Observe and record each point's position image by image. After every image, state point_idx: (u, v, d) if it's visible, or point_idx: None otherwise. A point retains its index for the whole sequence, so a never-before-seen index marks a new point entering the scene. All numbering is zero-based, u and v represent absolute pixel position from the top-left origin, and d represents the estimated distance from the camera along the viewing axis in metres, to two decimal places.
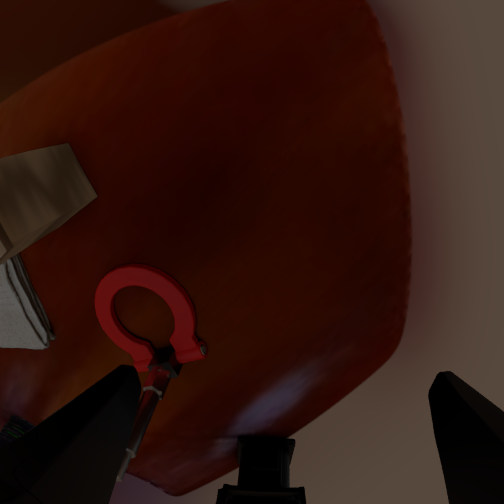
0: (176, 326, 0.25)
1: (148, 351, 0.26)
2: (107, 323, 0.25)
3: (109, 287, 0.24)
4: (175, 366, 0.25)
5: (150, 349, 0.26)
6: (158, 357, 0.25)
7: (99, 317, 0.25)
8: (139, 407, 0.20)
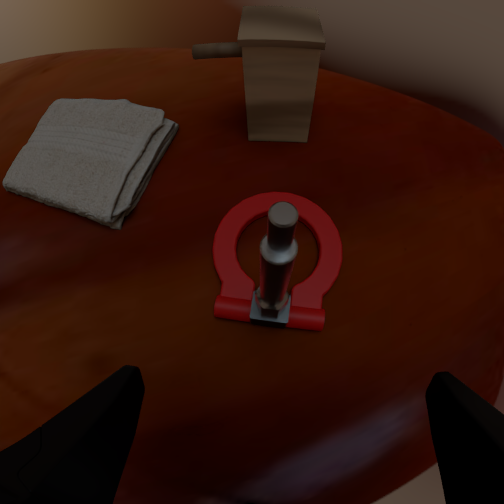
0: (314, 273, 0.21)
1: (252, 289, 0.21)
2: (227, 234, 0.22)
3: (265, 202, 0.23)
4: None
5: (254, 291, 0.21)
6: None
7: (223, 224, 0.23)
8: None
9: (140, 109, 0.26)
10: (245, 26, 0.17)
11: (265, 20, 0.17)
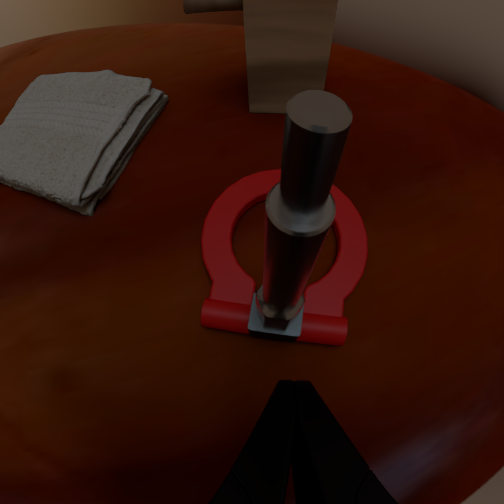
0: (333, 271, 0.16)
1: (252, 290, 0.16)
2: (221, 219, 0.17)
3: (270, 181, 0.18)
4: None
5: (254, 293, 0.16)
6: None
7: (215, 207, 0.18)
8: None
9: (124, 79, 0.21)
10: None
11: None
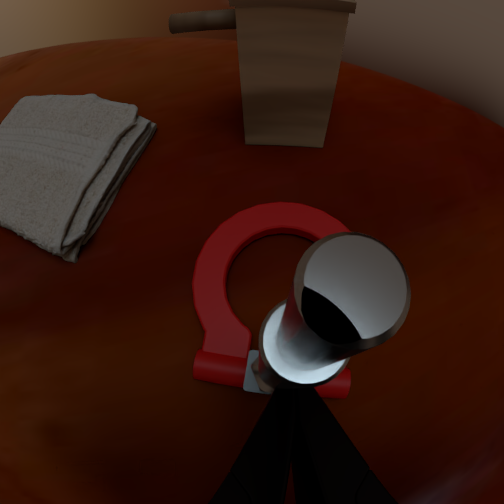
0: None
1: (248, 342, 0.14)
2: (213, 261, 0.16)
3: (268, 217, 0.17)
4: None
5: (250, 344, 0.14)
6: None
7: (208, 246, 0.16)
8: None
9: (109, 105, 0.19)
10: None
11: None
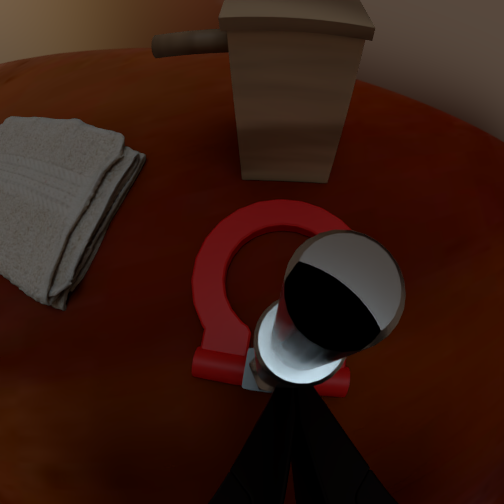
0: None
1: (247, 340, 0.14)
2: (213, 259, 0.16)
3: (267, 214, 0.17)
4: None
5: (249, 342, 0.14)
6: None
7: (207, 244, 0.16)
8: None
9: (94, 133, 0.18)
10: None
11: None
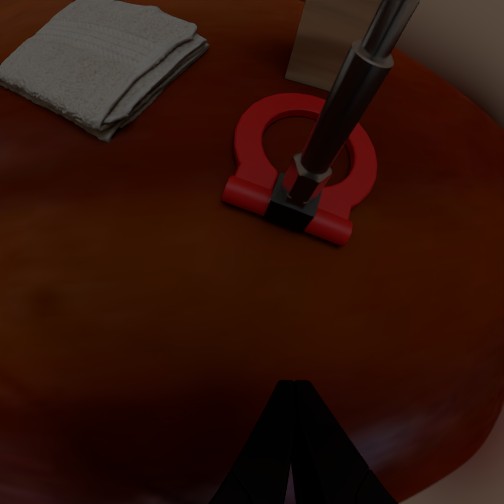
0: (345, 181, 0.18)
1: (274, 178, 0.17)
2: (255, 119, 0.18)
3: (302, 102, 0.19)
4: None
5: (274, 182, 0.17)
6: None
7: (252, 108, 0.18)
8: None
9: (170, 19, 0.19)
10: None
11: None
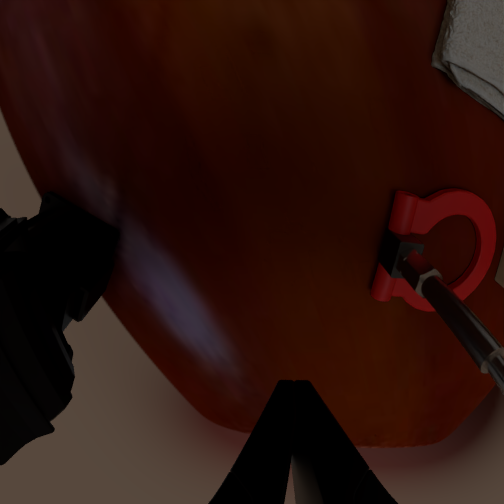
0: None
1: (419, 232, 0.18)
2: (470, 206, 0.17)
3: (488, 243, 0.18)
4: None
5: None
6: None
7: (479, 201, 0.17)
8: None
9: None
10: None
11: None
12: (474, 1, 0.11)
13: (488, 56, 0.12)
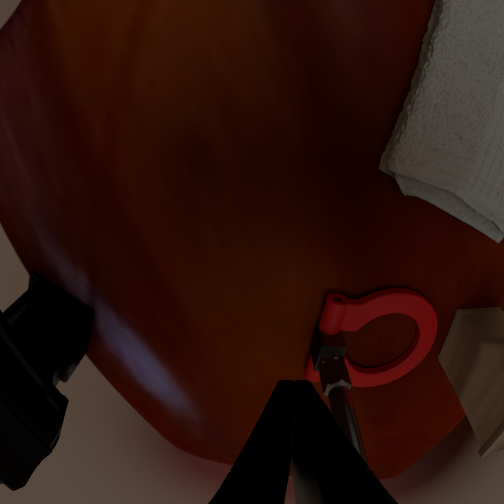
0: (354, 371, 0.22)
1: (349, 330, 0.20)
2: (406, 305, 0.20)
3: (427, 332, 0.21)
4: None
5: None
6: None
7: (418, 300, 0.19)
8: (355, 419, 0.15)
9: None
10: None
11: None
12: (440, 89, 0.13)
13: (444, 159, 0.14)
